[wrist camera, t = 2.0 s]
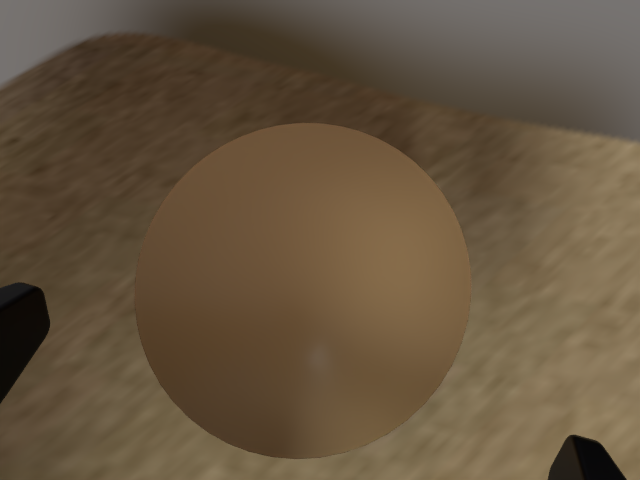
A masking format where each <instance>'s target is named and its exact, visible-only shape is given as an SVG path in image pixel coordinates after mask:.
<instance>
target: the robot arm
mask: <svg viewBox="0 0 640 480" xmlns="http://www.w3.org/2000/svg"><path fill="white" fill-rule="evenodd" d="M49 328H50V319H49V314H48V310H47V305H46V300H45V296H44V293H43V291H42V290H41V288H39V287H36V286H33V285H29V284H25V283H14V284H11V285H8V286H5V287H2V288H0V403H1V402H2V401H3V399H4V398H5V396H6V395H7V394H8V392H9V391H10V389H11V388H12V386H13V385H14V383H15V382H16V380H17V379H18V377H19V376H20V374H21V373H22V371H23V370H24V368H25V367H26V365H27V364H28V362H29V361H30V360H31V358H32V357H33V355H34V354H35V352H36V351H37V349H38V348H39V346H40V345H41V343H42V342H43V340H44V339H45V337H46V336H47V334H48V331H49ZM548 480H627V479H626V478H625V476H624V475H623V474H622V472H621V471H620V469H619V468H618V467H617V465H616V464H615V462H614V461H613V460H612V458H611V457H610V455H609V454H608V452H607V451H606V450H605V448H604V447H603V446H602V445H601V444H600V443H599V442H598V441H596V440H592V439H589V438H585V437H581V436H578V435H570V436H568V437H567V439H566V440H565V442H564V444H563V445H562V447H561V449H560V451H559V453H558V455H557V457H556V458H555V460H554V462H553V464H552V466H551V468H550V471H549V476H548Z"/></svg>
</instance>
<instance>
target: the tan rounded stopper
mask: <svg viewBox="0 0 640 480" xmlns="http://www.w3.org/2000/svg"><path fill="white" fill-rule="evenodd" d="M470 302H471V271H470V263H469V256H468V251H467V247H466V243H465V240H464V236H463V233H462V230H461V227H460V225H459V223H458V220H457V218H456V216H455V213H454V211H453V209H452V208H451V206H450V204H449V203H448V201H447V199H446V198H445V196H444V194H443V193H442V191H441V190H440V189H439V188H438V186H437V185H436V184H435V183H434V181H433V180H432V179H431V178H430V176H429V175H428V174H427V173H426V172H425V171H424V170H422V169H421V168H420V167H419V166H418V165H417V164H416V163H415V162H414V161H413V160H412V159H410V158H409V157H407V156H406V155H405V154H403V153H402V152H401V151H399V150H398V149H397V148H395V147H393V146H391V145H389V144H388V143H386V142H384V141H382V140H380V139H378V138H376V137H373V136H371V135H369V134H366V133H364V132H361V131H358V130H354V129H350V128H346V127H343V126H338V125H330V124H323V123H294V124H284V125H277V126H273V127H269V128H264V129H260V130H257V131H254V132H252V133H249V134H246V135H243V136H240V137H238V138H236V139H234V140H232V141H230V142H228V143H226V144H224V145H222V146H221V147H219V148H218V149H216V150H215V151H213V152H212V153H210V154H209V155H207V156H206V157H204V158H203V159H202V160H201V161H199V162H198V163H197V164H196V165H195V166H193V167H192V168H191V169H190V170H189V171H188V172H187V173H186V174H185V175H184V176H183V177H182V178H181V179H180V180H179V181H178V182H177V184H176V185H175V186H174V187H173V188H172V190H171V191H170V193H169V194H168V195H167V197H166V198H165V199H164V201H163V202H162V204H161V206H160V207H159V209H158V211H157V213H156V214H155V216H154V218H153V220H152V222H151V224H150V227H149V229H148V231H147V234H146V236H145V238H144V242H143V245H142V249H141V252H140V256H139V259H138V266H137V272H136V279H135V310H136V320H137V326H138V330H139V334H140V339H141V343H142V346H143V349H144V351H145V354H146V356H147V359H148V362H149V364H150V366H151V368H152V370H153V372H154V374H155V375H156V377H157V379H158V381H159V383H160V384H161V386H162V387H163V388H164V390H165V391H166V393H167V394H168V395H169V397H170V398H171V399H172V401H173V402H174V403H175V404H176V405H177V406H178V407H179V408H180V409H181V410H182V411H183V412H184V413H185V414H186V415H187V416H188V417H189V418H190V419H191V420H192V421H194V422H195V423H196V424H198V425H199V426H200V427H202V428H203V429H204V430H206V431H207V432H208V433H210V434H212V435H214V436H216V437H217V438H219V439H221V440H223V441H224V442H226V443H228V444H231V445H233V446H236V447H238V448H241V449H244V450H246V451H249V452H253V453H257V454H261V455H266V456H270V457H278V458H289V459H305V458H321V457H326V456H331V455H336V454H341V453H345V452H348V451H350V450H353V449H356V448H359V447H362V446H365V445H367V444H369V443H371V442H373V441H375V440H377V439H379V438H381V437H383V436H385V435H387V434H388V433H390V432H391V431H392V430H394V429H395V428H397V427H398V426H400V425H401V424H402V423H404V422H405V421H407V420H408V419H409V418H410V417H411V416H412V415H413V414H414V413H415V412H416V411H417V410H419V409H420V408H421V407H422V406H423V405H424V404H425V403H426V402H427V400H428V399H429V398H430V397H431V395H432V394H433V393H434V392H435V390H436V389H437V388H438V387H439V386H440V384H441V382H442V381H443V379H444V377H445V376H446V374H447V373H448V371H449V369H450V368H451V366H452V364H453V362H454V360H455V357H456V355H457V353H458V350H459V348H460V346H461V343H462V340H463V336H464V333H465V329H466V326H467V322H468V316H469V309H470Z"/></svg>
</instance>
